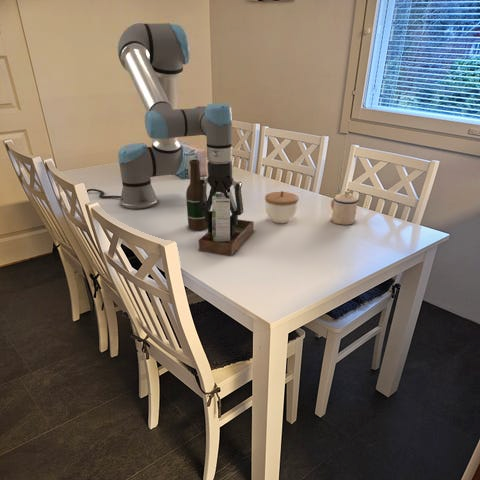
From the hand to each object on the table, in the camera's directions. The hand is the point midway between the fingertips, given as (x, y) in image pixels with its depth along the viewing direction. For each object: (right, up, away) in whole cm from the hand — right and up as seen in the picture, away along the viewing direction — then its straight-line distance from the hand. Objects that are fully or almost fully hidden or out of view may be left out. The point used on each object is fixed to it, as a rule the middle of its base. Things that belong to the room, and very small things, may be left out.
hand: (221, 232), depth 139 cm
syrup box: (0, -2, +1) cm, 2 cm away
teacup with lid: (+45, +10, +24) cm, 52 cm away
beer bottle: (-9, +6, +18) cm, 21 cm away
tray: (+2, -1, +7) cm, 7 cm away
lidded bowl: (+22, +10, +24) cm, 34 cm away
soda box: (-27, +53, +88) cm, 106 cm away
